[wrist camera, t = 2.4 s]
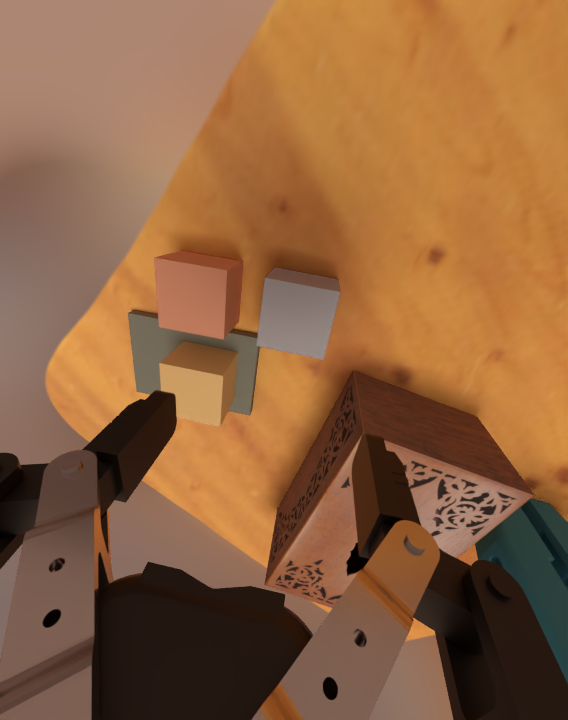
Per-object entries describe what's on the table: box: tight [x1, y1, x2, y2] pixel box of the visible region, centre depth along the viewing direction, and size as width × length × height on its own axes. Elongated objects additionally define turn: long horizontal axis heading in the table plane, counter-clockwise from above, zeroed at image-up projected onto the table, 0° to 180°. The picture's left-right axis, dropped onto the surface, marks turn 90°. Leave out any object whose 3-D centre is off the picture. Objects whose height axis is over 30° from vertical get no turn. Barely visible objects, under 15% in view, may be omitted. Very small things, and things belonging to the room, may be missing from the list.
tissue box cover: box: [265, 371, 534, 608], centre depth 33 cm, size 26×14×10 cm, turn 161°
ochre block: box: [159, 342, 238, 427], centre depth 30 cm, size 6×6×5 cm
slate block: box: [256, 267, 340, 360], centre depth 26 cm, size 6×6×5 cm
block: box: [475, 499, 568, 683], centre depth 27 cm, size 12×5×20 cm, turn 79°
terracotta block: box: [154, 251, 243, 339], centre depth 26 cm, size 6×6×5 cm
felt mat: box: [128, 310, 260, 415], centre depth 32 cm, size 10×14×1 cm
